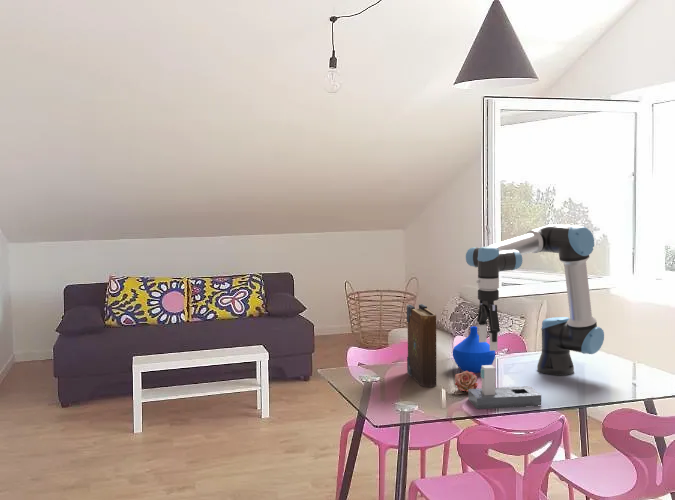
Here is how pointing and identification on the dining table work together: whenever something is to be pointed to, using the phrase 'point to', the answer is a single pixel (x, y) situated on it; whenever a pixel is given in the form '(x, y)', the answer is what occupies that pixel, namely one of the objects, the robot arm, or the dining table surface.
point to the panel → (505, 398)
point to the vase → (473, 353)
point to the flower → (466, 381)
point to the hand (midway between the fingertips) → (488, 346)
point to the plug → (488, 379)
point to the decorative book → (421, 345)
